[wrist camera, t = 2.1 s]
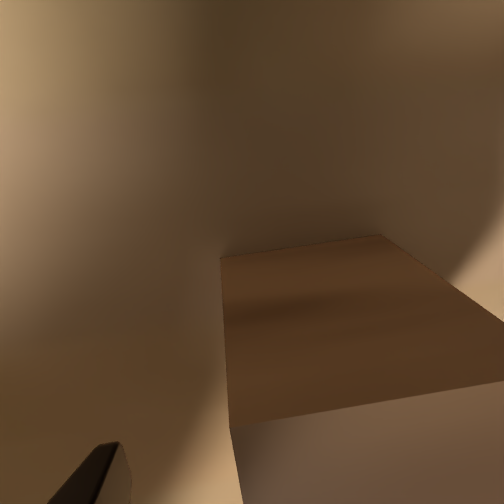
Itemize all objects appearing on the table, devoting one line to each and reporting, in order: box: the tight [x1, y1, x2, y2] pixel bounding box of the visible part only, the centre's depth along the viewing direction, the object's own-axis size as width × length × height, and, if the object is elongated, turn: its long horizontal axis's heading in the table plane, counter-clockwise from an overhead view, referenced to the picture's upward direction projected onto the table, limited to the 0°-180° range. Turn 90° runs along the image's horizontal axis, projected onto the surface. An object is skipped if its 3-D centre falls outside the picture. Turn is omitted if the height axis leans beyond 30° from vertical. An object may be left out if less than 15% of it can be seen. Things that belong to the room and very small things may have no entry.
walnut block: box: [220, 234, 504, 504], centre depth 8 cm, size 4×4×6 cm
